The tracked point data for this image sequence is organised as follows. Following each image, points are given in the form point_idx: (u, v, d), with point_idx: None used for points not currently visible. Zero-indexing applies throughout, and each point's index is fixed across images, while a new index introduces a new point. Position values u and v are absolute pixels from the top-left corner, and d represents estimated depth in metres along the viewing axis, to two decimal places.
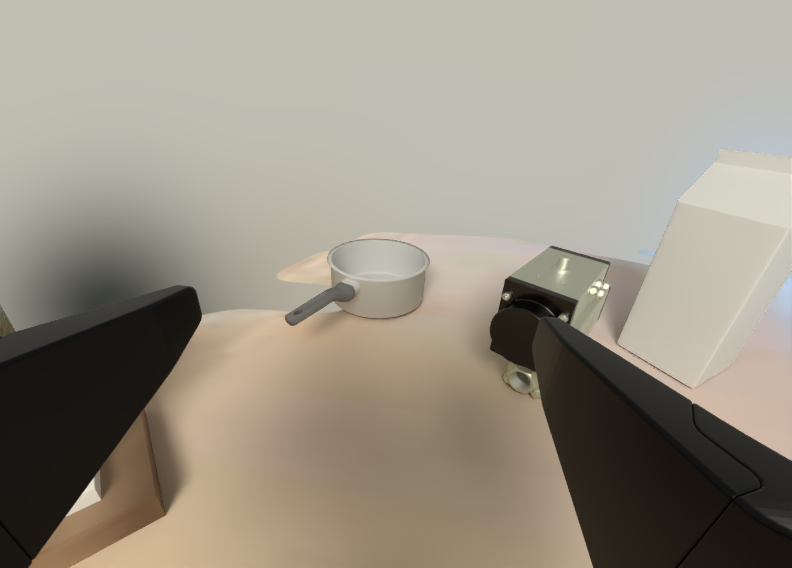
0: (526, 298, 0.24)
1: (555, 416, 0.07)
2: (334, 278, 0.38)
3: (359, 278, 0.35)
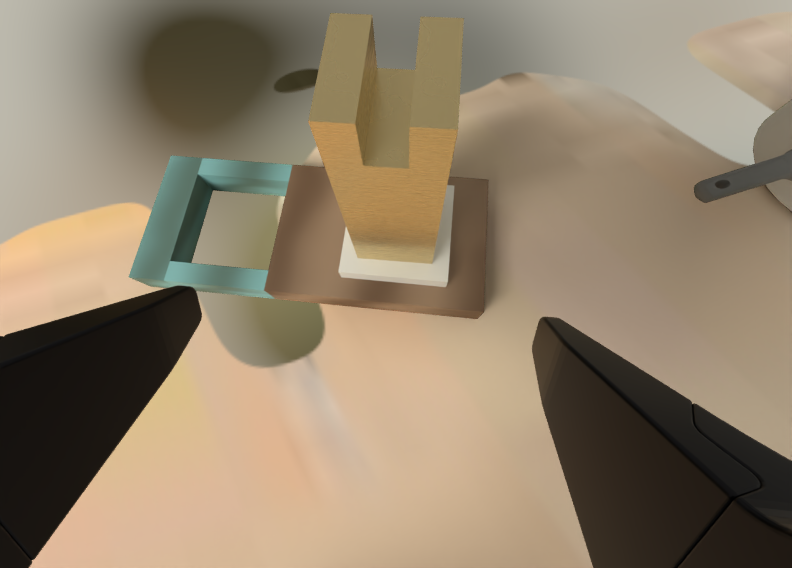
0: None
1: (555, 416, 0.07)
2: None
3: None
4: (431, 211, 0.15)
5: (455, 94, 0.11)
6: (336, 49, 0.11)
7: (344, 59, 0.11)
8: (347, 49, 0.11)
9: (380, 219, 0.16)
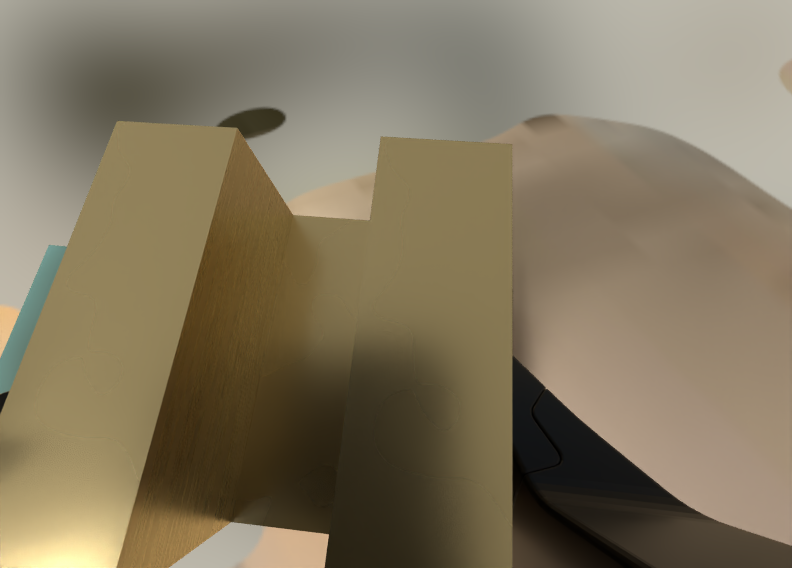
0: None
1: None
2: None
3: None
4: None
5: (496, 467, 0.03)
6: (106, 254, 0.04)
7: (125, 292, 0.03)
8: (143, 251, 0.04)
9: None
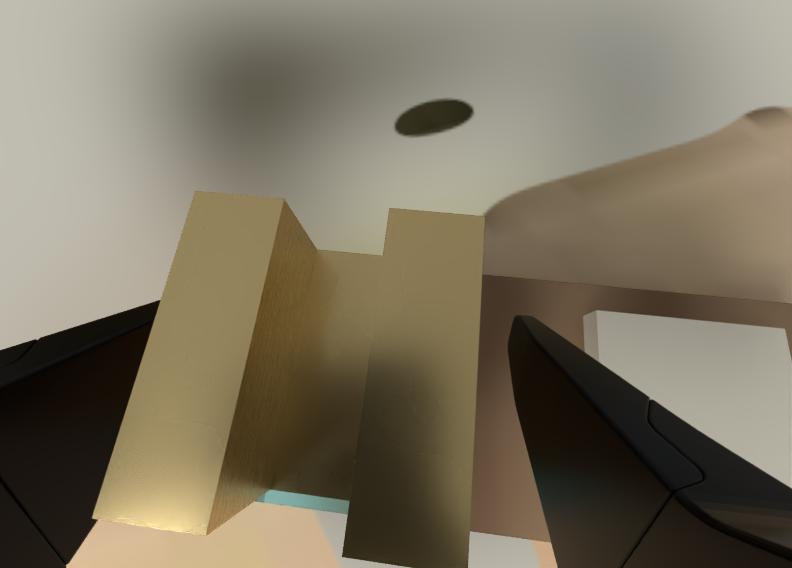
0: None
1: (525, 413, 0.08)
2: None
3: None
4: None
5: (462, 447, 0.04)
6: (192, 292, 0.05)
7: (208, 321, 0.05)
8: (219, 291, 0.05)
9: None
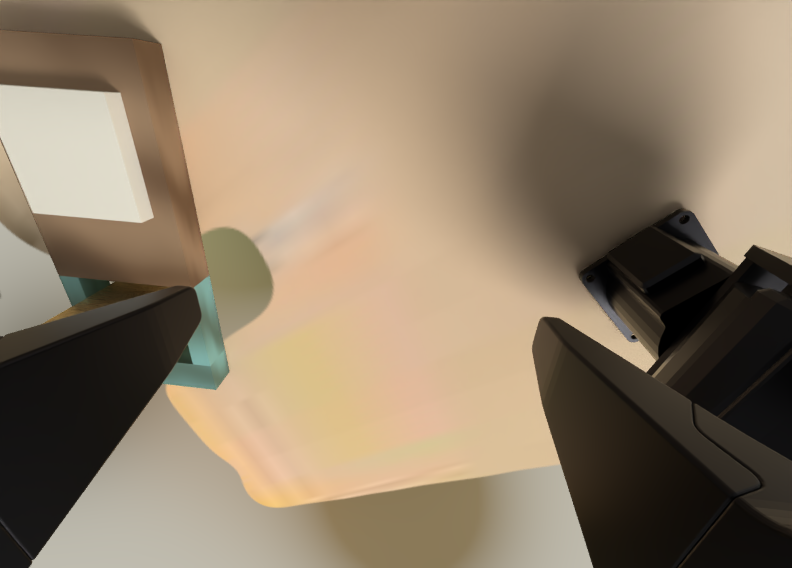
0: None
1: (555, 416, 0.07)
2: None
3: None
4: None
5: None
6: None
7: None
8: None
9: None
